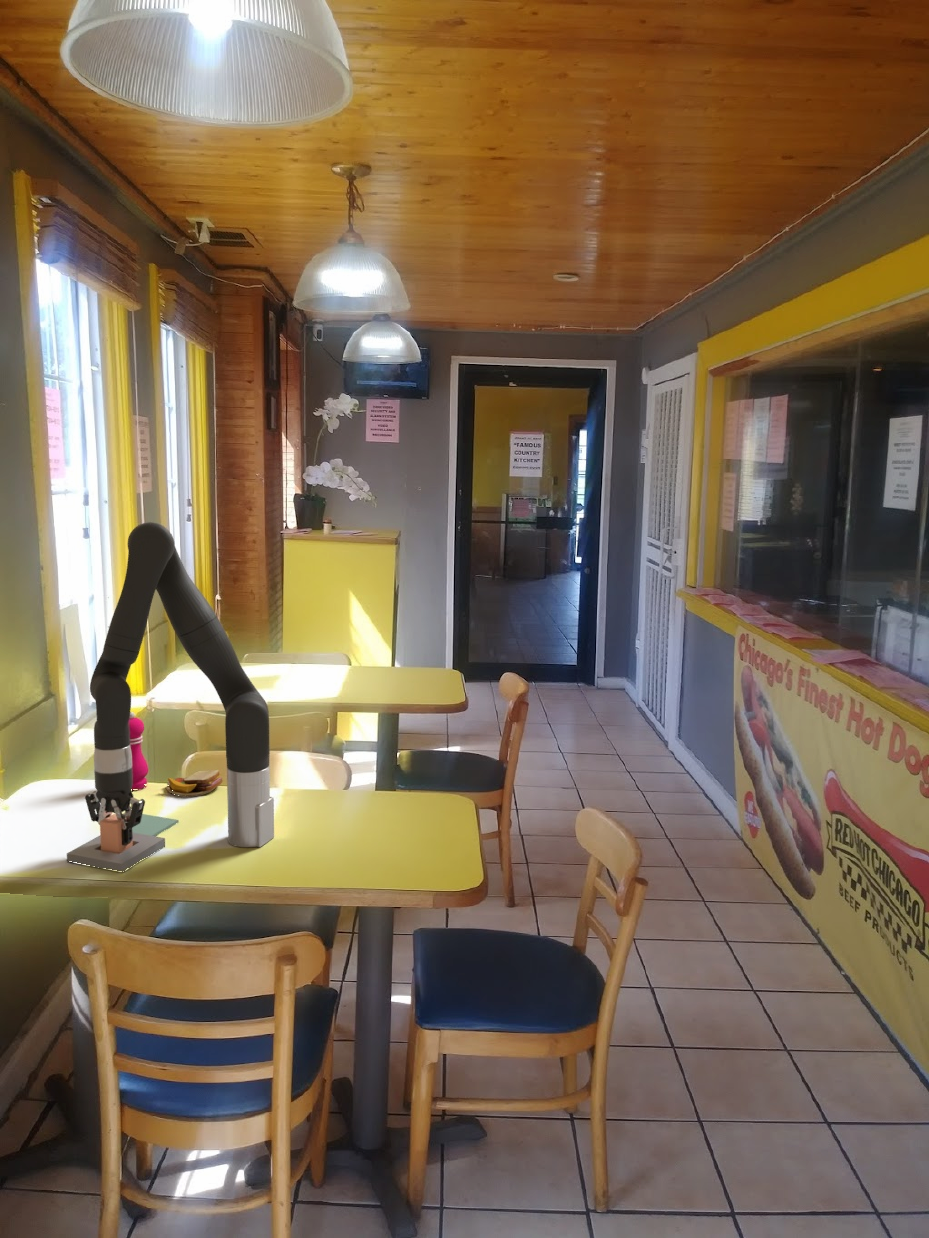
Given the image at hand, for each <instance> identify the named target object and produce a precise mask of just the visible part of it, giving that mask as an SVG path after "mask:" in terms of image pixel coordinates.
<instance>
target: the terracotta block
mask: <svg viewBox="0 0 929 1238" xmlns="http://www.w3.org/2000/svg"><path fill="white" fill-rule="evenodd" d="M125 819H126V818H125ZM126 822H127V819H126ZM121 829H122V827H121V823H120V821H119V820H118V819H117V817H116V814H115V813H112V815H111V816H109V817H107V818H106V819H104V820H102V821H100V825H99V832H100V835H99V836H101V851H106V852H112V853H117V854H120V853H122V852H124V851H125V850H127V849H129V848H130V847H132V846H133V840H132V841H131V843H129V844H128V845H126V846H125V845H122V831H121Z"/></svg>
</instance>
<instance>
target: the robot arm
mask: <svg viewBox="0 0 929 1238" xmlns="http://www.w3.org/2000/svg"><path fill="white" fill-rule="evenodd" d="M127 550H128V551H127V552H128V553H127V554H128V555H127V564H126V565H127V566H126V573H125V576H124V581H123V585H122V590H121V592H120V595H119V599H118V601H117V604H116V606H115V609H114V613H113V615H112V617H111V621H110V623H109V627H108V631H107V633H106V637H105V641H104V645H103V649H102V652H101V655H100V658H98V659H99V660H98V661H97V663H96V666H95V668H94V671H93V673H92V675H91V679H90V683H89V691H90V695H91V697H92V698H93V699H94V700H95V701H94V702H95V706H96V707H95V708H96V709H95V710H96V712H95V714H96V721H95V722H94V727H93V738H94V739H93V740H94V741H93V742H94V753H93V768H94V769H93V770H94V771H93V772H94V787H95V789H96V791H95V790H94V791H91V792H89V793H88V794H85V797H84V799H85V802H86V806H87V809H88V813H89V816H90V820H91V822H97V824H98V826H100V821H102V820H104V819H106V818H107V817H109V816H111V815H113V814H116V817H117V819H118V820H119V821H120V823H121V827H122V829H121V831H122V845H125V846H126V845H128V844H129V843H131V841H132V839H133V835H132V828H133V827H134V826H136V825H138V824H140V822H141V818H142V814H144V809H145V808H144V807H145V804H146V800H145V799H143V798H140V799H137V798H136V797H134V794H133V791H131V788H132V785H133V770H132V752H131V747H130V729H129V718H130V712H131V711H132V710H131V709H132V707H131V706H132V692H131V687H130V685H129V683H128V682H127V678H128V675H129V672H130V669H131V666H132V665H133V664H134V663H136V661H137V660H138V657H139V654H140V650H141V647H142V644H143V641H144V640H143V639H144V636H145V632H146V628H147V624H148V619H149V616H150V611H151V607H152V602H153V599H154V596H155V593H156V592H157V594H158V596H159V598H160V600H161V603H162V606H163V608H164V611H165V613H166V616H167V618H168V621H169V622H170V625H171V626H172V630H173V631H174V633H175V635H176V637H177V638H178V640H179V641H180V644H181V645H182V647H183V649H184V651H185V652H186V653H187V655H188V656H189V658H190V659H191V660H192V661H193V663H194V664H195V665H196V666H197V668H198V669H199V670H200V671H201V672H202V674H204V676H206V678H208V680H209V681H210V683H211V684H212V686H213V687H214V690H215V692H216V693H217V695H218V697H219V699H220V702H221V704H222V706H223V709H224V712H225V719H224V720H225V721H224V723H225V725H224V726H225V729H224V733H225V758H226V787H227V789H226V790H227V791H226V792H227V794H226V795H227V834H228V840H227V841H228V843H229V844H230V845H232V846H234V847H238V848H239V847H240V848H253V847H257V848H262V846H264V845H266V844H267V843H268V842H269V841H271V840H272V839H273V838H275V804H274V801H275V800H274V797H273V796H271V795H270V794H271V792H270V790H271V789H270V788H271V786H270V785H271V783H270V781H271V779H270V778H271V777H270V770H271V769H270V752H271V751H270V715H269V714H270V713H269V707H268V704H267V702H266V700H265V699H264V698H263V696H262V695H261V693H260V692H259V691H258V689H257V688H256V687H255V685H254V684H253V683H252V681H251V679H250V678H249V677H248V675H247V674H246V672H245V670H244V668H243V667H242V664H241V663H240V661H239V659H238V656H237V654H236V650H235V648H234V646H233V644H232V642H231V640H230V639H229V636H228V634H227V632H226V630H225V628H224V626H223V624H222V623H221V621H220V619H219V617H218V616H217V614H216V611H214V608H213V607H212V606H211V604H210V603H209V601H208V600H207V598H206V596H204V594H203V593H202V592H201V590H200V589H199V588H198V586H197V585H196V584H195V583H194V582H193V580H192V578H191V577H190V576H189V574H188V572H187V570H186V569H185V566H184V564H183V561H182V560H181V557H180V555H179V552H178V550H177V548H176V546H175V539H174V536H173V534H172V533H171V532H170V530H169V529H168V528H167V527H165V526H164V525H162V524H160V523H158V522H151V521H150V522H149V521H147V522H143V523H141V524H138V525H136V526H135V527H134V528H133V529H132V530H131V532H130V533H129V535H128V538H127ZM125 818H126V819H127V822H126V819H125Z"/></svg>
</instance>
